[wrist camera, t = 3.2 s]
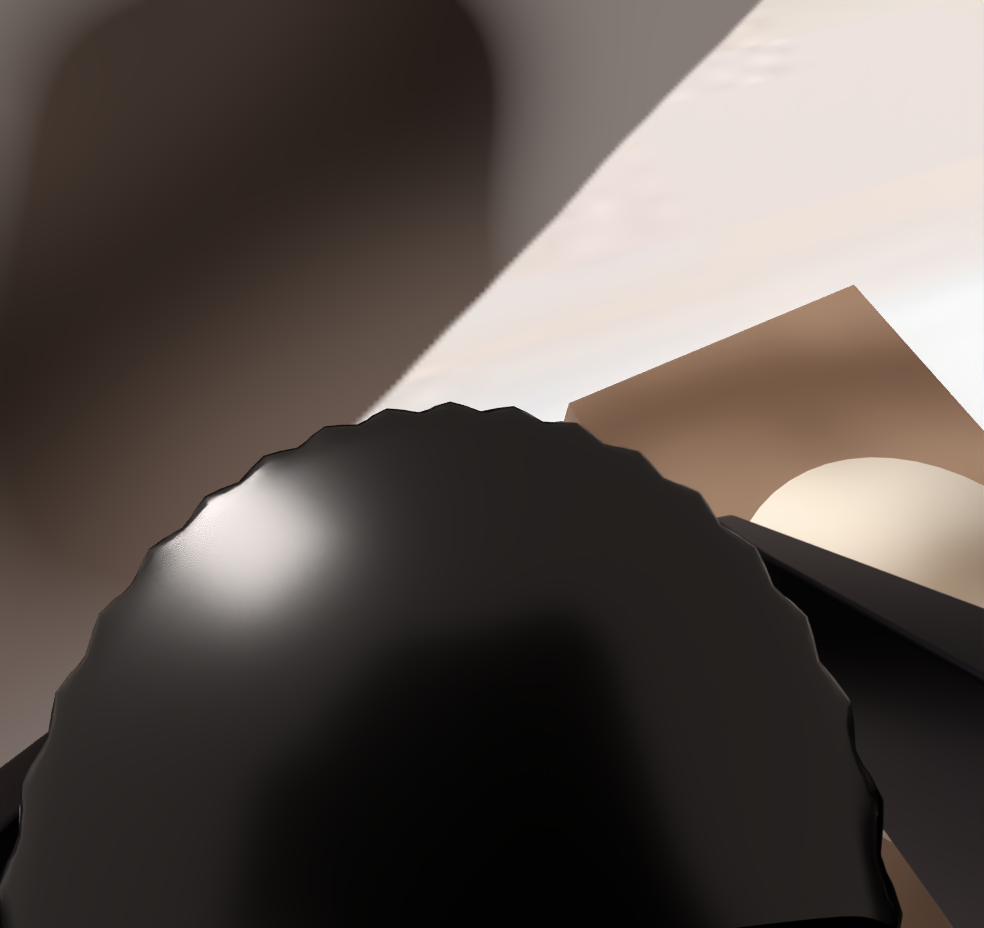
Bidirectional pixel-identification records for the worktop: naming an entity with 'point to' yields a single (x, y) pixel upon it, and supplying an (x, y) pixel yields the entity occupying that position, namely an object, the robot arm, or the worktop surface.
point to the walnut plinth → (820, 456)
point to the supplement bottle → (450, 708)
